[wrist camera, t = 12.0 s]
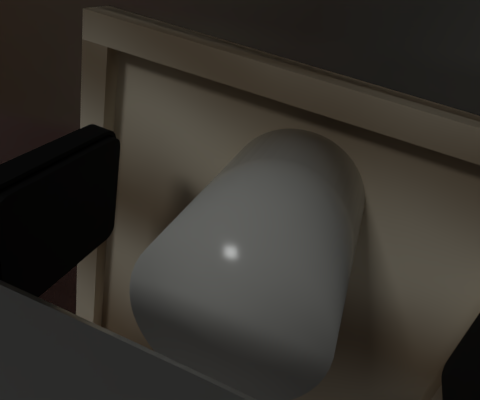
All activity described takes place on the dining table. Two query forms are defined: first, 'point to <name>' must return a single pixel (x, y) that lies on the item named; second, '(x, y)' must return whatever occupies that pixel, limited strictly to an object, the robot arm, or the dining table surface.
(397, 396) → the birch tray
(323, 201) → the pebble grey
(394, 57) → the dining table surface
